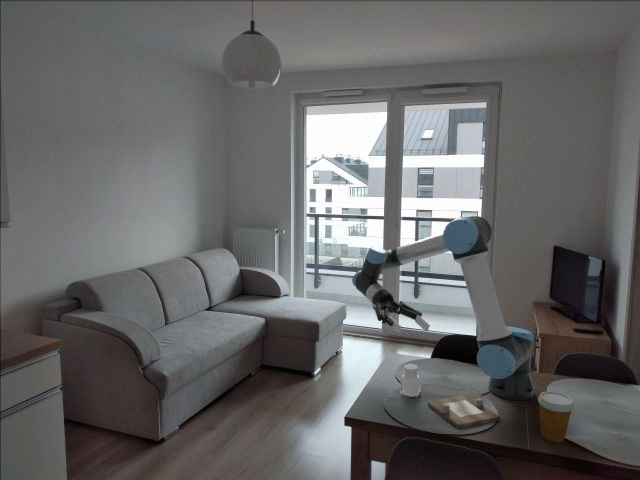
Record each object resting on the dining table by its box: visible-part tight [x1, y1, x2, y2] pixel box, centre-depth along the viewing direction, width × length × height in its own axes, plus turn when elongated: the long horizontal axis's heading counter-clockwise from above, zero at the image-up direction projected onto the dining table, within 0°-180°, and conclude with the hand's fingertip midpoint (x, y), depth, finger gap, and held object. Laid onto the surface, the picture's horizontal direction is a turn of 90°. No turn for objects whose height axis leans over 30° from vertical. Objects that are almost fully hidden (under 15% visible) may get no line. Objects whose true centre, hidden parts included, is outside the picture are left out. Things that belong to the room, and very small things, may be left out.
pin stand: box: [427, 394, 501, 429], centre depth 155 cm, size 16×16×3 cm
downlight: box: [399, 363, 423, 396], centre depth 167 cm, size 8×7×10 cm
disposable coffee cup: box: [537, 391, 575, 443], centre depth 140 cm, size 10×10×12 cm
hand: (414, 329), depth 167 cm, fingers open, 13 cm apart
